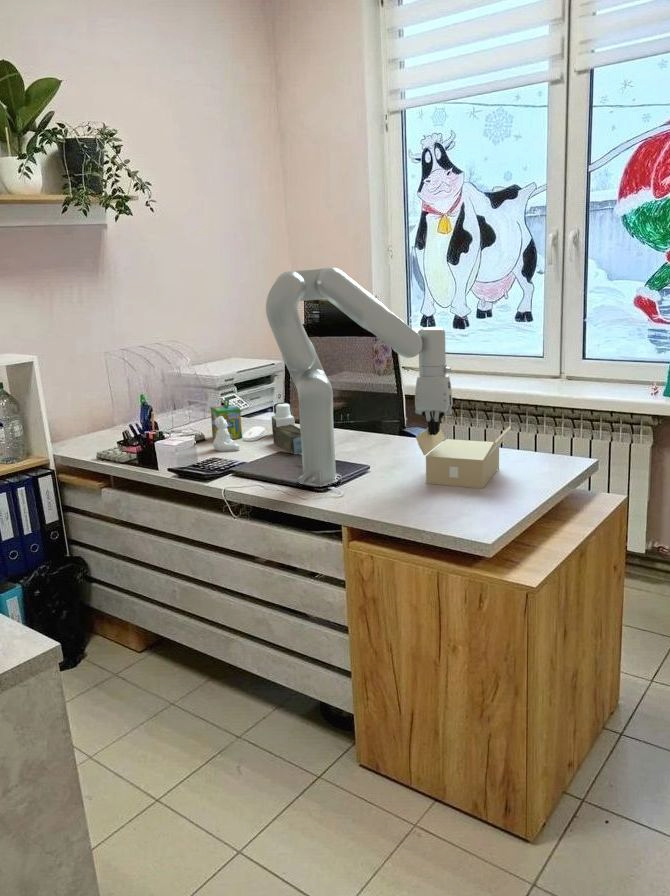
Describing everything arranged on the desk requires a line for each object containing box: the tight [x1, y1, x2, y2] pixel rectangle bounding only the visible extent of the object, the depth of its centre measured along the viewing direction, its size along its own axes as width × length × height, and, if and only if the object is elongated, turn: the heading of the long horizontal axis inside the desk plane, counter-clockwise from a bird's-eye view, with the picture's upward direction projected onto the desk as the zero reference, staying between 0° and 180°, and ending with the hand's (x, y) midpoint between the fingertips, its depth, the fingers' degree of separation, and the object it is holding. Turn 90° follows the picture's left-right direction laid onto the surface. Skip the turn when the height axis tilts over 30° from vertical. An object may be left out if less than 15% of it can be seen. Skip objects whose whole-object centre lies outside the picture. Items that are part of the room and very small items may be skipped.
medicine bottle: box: [271, 402, 296, 429], centre depth 268 cm, size 7×7×12 cm
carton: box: [425, 438, 500, 489], centre depth 208 cm, size 20×16×8 cm
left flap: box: [415, 427, 446, 456], centre depth 211 cm, size 19×6×1 cm
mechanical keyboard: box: [96, 429, 208, 464], centre depth 258 cm, size 38×19×3 cm, turn 145°
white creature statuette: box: [212, 416, 240, 452], centre depth 251 cm, size 10×9×12 cm
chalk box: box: [210, 397, 243, 440], centre depth 268 cm, size 9×9×15 cm
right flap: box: [484, 425, 512, 460], centre depth 202 cm, size 19×6×1 cm
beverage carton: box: [271, 424, 302, 455], centre depth 250 cm, size 8×19×7 cm, turn 27°
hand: (434, 433), depth 210 cm, fingers closed
